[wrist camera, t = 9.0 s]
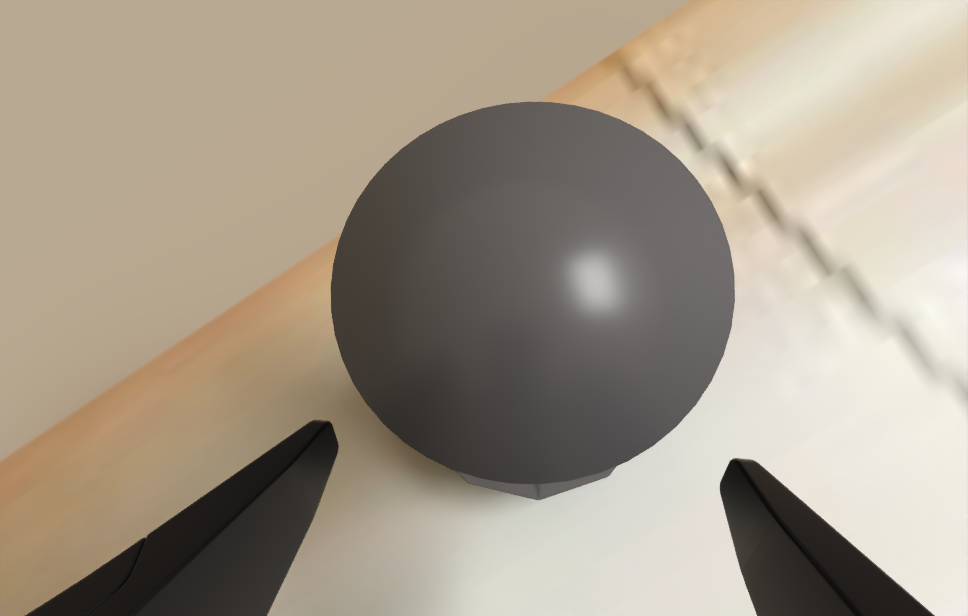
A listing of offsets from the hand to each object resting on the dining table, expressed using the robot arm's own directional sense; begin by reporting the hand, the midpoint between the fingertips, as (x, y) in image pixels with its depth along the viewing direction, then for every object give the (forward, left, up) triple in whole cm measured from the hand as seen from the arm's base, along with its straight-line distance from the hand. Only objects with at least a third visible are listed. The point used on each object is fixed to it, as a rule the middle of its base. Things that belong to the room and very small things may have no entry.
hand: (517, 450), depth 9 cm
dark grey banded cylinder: (+2, +2, -9) cm, 9 cm away
